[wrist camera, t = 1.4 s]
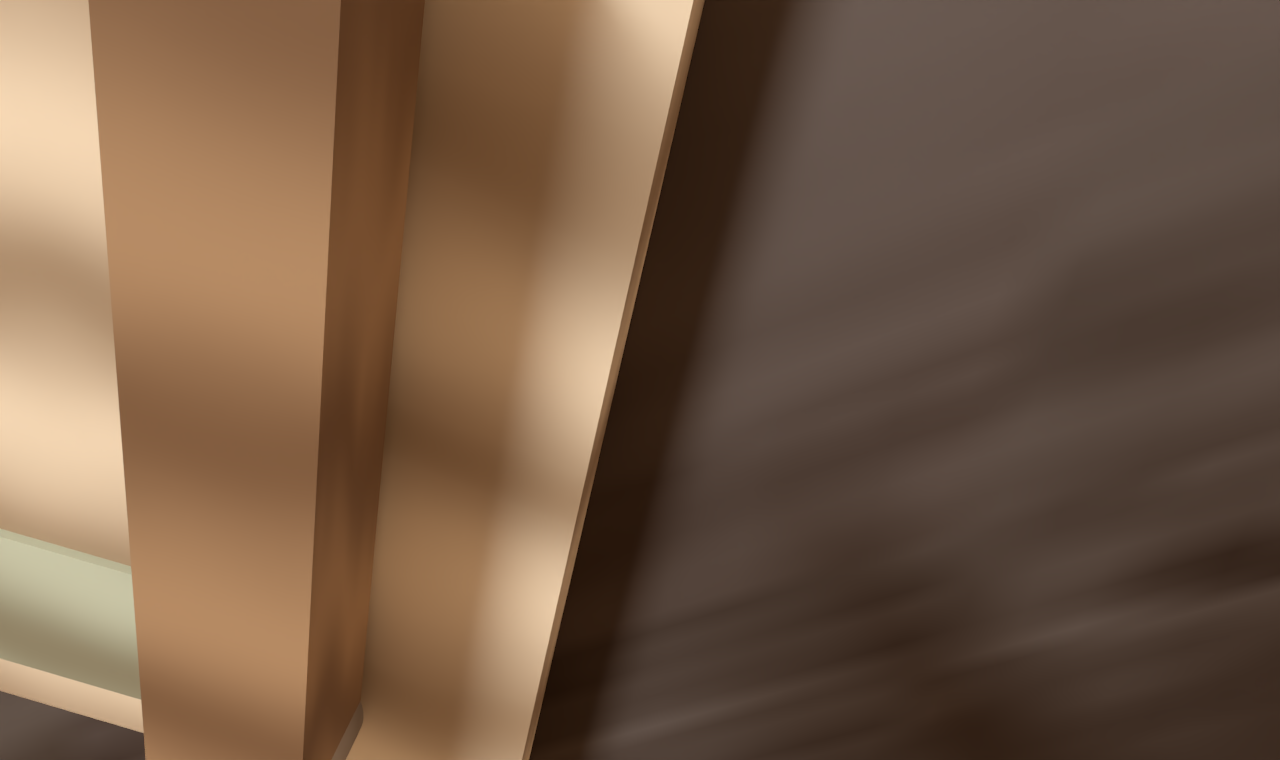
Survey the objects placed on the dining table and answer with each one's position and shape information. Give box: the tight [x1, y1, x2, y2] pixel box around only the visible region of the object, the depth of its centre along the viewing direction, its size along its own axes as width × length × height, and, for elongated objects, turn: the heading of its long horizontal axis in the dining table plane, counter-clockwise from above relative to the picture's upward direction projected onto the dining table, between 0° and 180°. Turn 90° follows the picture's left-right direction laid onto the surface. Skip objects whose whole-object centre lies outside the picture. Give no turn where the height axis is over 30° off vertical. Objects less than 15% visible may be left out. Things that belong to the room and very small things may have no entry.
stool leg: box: [88, 0, 425, 760], centre depth 19 cm, size 20×3×3 cm, turn 169°
